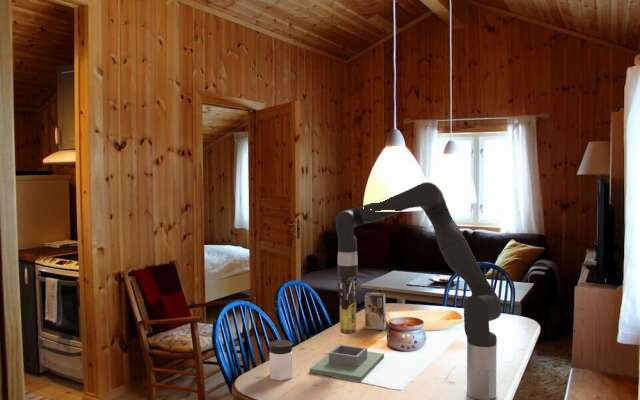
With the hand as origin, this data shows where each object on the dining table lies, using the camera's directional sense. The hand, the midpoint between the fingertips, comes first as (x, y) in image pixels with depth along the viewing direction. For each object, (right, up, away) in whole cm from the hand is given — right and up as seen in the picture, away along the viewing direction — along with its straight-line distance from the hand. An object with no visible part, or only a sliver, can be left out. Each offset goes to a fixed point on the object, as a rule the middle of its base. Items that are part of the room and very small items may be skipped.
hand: (348, 307), depth 200 cm
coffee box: (+16, -20, +49) cm, 55 cm away
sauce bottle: (0, -10, 0) cm, 10 cm away
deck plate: (0, -22, +1) cm, 22 cm away
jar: (-25, -23, -9) cm, 35 cm away
